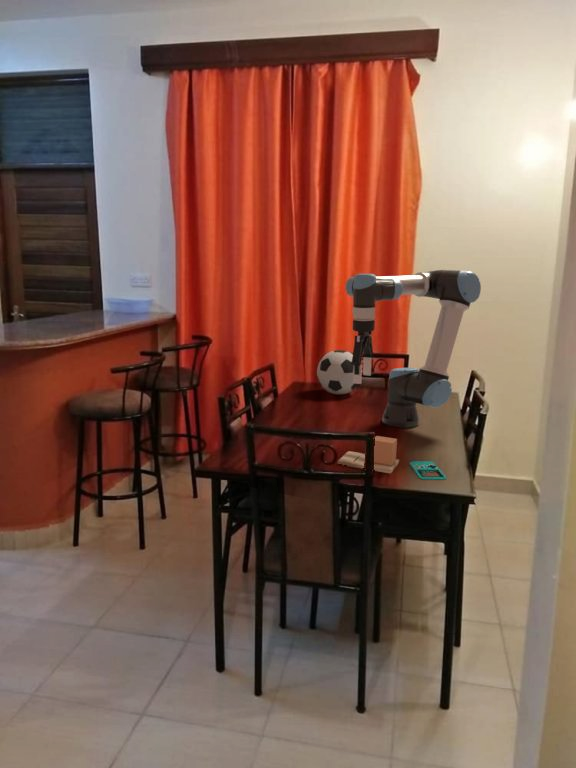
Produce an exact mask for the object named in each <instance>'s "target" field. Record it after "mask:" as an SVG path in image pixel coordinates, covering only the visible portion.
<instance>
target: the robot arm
mask: <svg viewBox="0 0 576 768" xmlns="http://www.w3.org/2000/svg"><path fill="white" fill-rule="evenodd" d="M481 288H482V286H481V281H480V278H479V276H478V275H477V274H476V273H475V272H473V271H469V270H464V269H463V270H456V269H455V270H454V269H453V270H452V269H449V270H448V269H438V270H429V271H423V272H422V271H421V272H417V273H415V274H410V275H386V276H385V275H384V276H381V275H380V276H376V274H374V273H357V274H355V275H354V276H351V277H349V278H348V279H347V281H346V283H345V292H346V294H347V295H348V296H349V297H351V298H352V299H353V300H352V301H353V305H352V306H353V307H352V309H351V312H352V313H353V314H352V318H353V320H352V331H354V332H357V335H355V336H354V344H353V352H352V354H353V357H352V362H351V365H353V383H355V384H358V385H359V384H360V385H362V375H363V376H369V377H371V376H372V358H375V354H374V350H373V340H372V339H373V338H372V333H373V332H374V331H375V328H376V327H375V323H376V321H375V319H376V302H379V301H380V302H382V301H393V300H397V299H399V298H400V297H402V296H410V295H411V296H412V295H414V296H416V297H418V298H421V297H425V298H426V297H427V298H432V299H437V300H438V302H439V304H440V306H441V307H440V310H439V311H440V312H439V315H438V318H437V322H436V325H435V328H434V332H433V335H432V339H431V342H430V346H429V349H428V353H427V357H426V360H425V364H424V365H423V366H422V367H419V368H418V367H398V368H393V369H391V370H390V371H389V376H388V387H387V388H388V390H387V404H386V407H385V410H384V412H383V414H382V421H381V422H382V423H383V424H384V425H386V426H389V427H394V428H402V429H403V428H404V429H405V428H407V429H410V428H414V427H415V428H416V427H418V426H419V425H420V416H419V411H418V407H417V404H418V405H423V406H425V407H428V408H433V409H437V408H441V407H442V406H444V405H445V404H446V403H447V402H448V401H449V399H450V397H451V395H452V391H453V390H452V389H453V388H452V383H451V382H450V381H449V378H450V375H449V374H448V372H447V371H448V368H449V364H450V361H451V356H452V354H453V350H454V347H455V344H456V340H457V337H458V332H459V328H460V326H461V323H462V319H463V315H464V312H466V311H467V310H469V309H470V306H471V303H474V302H476V301H477V300H478V299H479V298H480V295H481V291H482V290H481ZM363 356H364V357H363ZM362 361H363V365H362ZM362 370H363V371H362Z"/></svg>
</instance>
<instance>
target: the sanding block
mask: <svg viewBox="0 0 576 768" xmlns="http://www.w3.org/2000/svg"><path fill="white" fill-rule="evenodd" d="M374 438H375V446H374V464H379V465H385V466H390V467H392V466H393V465H394V463H395V462H396V459H397V448H398V447H397V446H398V438H393V437H386V436H380V435H375V437H374Z"/></svg>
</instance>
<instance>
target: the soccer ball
mask: <svg viewBox="0 0 576 768" xmlns="http://www.w3.org/2000/svg"><path fill="white" fill-rule="evenodd" d="M352 357H353V353H352V352H349V351H347V350H344V349H343V350H342V349H336V350H332V351H330V352H327V353H326V354H325V355H323V357H322V358H321V359H320V361H319V363H318V365H317V368H316V377H317V380H318V383H319V384H320V386H321V387H322V389H324V390H325V391H326V392H328V393H330V394H332V395H345V394H348V393H351V392H352V391H353V390H354V389H356V388H357V387H358V385H359V384H355V383H353V365H351V362H352Z"/></svg>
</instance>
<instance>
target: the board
mask: <svg viewBox="0 0 576 768" xmlns="http://www.w3.org/2000/svg"><path fill="white" fill-rule="evenodd" d="M365 454H366V453H362V452H357V451H356V452H355V451H350V450H348V451H347V452H345V454H344V455H342V457H340V458H339V459H338V460H337V465H338V464H342V465H341V466H344V465H347V466H346V467H350V468H356V469H363V468H364V463H365ZM399 463H400V459H398V458H396V462H395V463H394V465H393V466H392V467H390V466H385V465H379V464H374V470H375V472H380V473H385V474H390V475H391V474H392V473H393V471H394V470H395V469H396V468H397V467H398V465H399ZM363 470H364V469H363Z"/></svg>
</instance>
